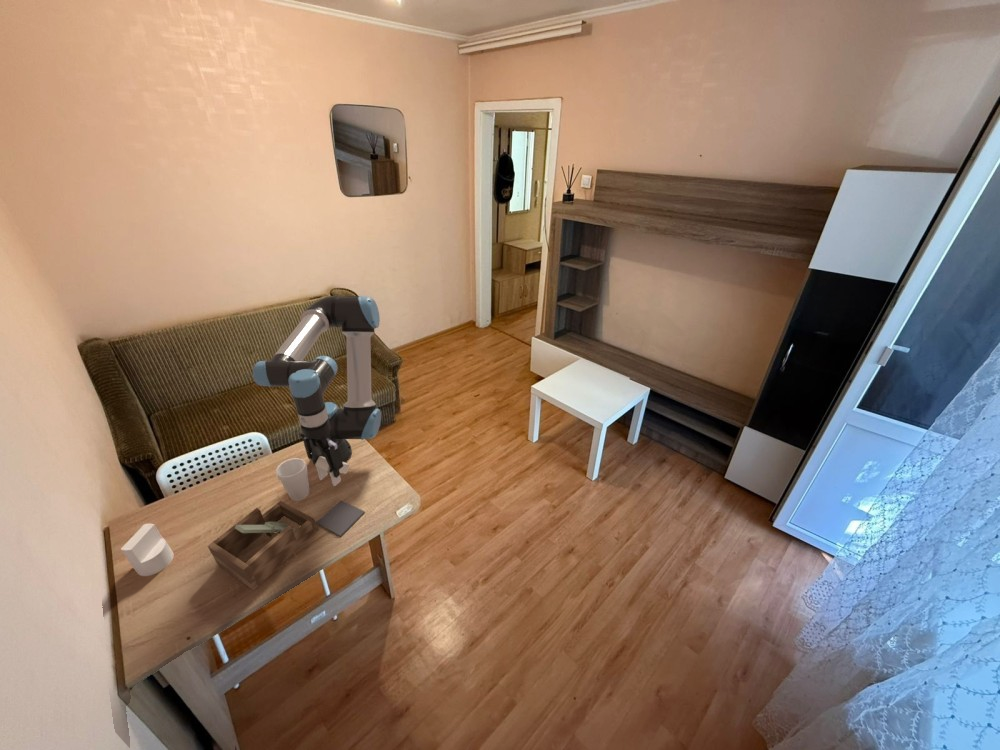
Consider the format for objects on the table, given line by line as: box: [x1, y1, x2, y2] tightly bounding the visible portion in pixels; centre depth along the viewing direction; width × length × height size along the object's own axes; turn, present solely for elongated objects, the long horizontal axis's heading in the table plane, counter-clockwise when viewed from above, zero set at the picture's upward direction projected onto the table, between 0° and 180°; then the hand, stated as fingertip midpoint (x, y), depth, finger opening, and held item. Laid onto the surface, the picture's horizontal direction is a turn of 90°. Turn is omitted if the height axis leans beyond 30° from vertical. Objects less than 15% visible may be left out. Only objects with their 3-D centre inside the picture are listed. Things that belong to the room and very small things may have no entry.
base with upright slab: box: [120, 522, 175, 577], centre depth 120 cm, size 9×9×12 cm
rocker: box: [235, 521, 297, 535], centre depth 125 cm, size 19×9×2 cm
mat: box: [315, 499, 366, 537], centre depth 138 cm, size 11×11×1 cm
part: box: [314, 456, 351, 475], centre depth 128 cm, size 9×5×3 cm
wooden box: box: [207, 500, 319, 591], centre depth 125 cm, size 23×16×10 cm
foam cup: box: [275, 457, 310, 502], centre depth 143 cm, size 10×9×13 cm
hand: (330, 479), depth 128 cm, fingers closed on part, 5 cm apart
